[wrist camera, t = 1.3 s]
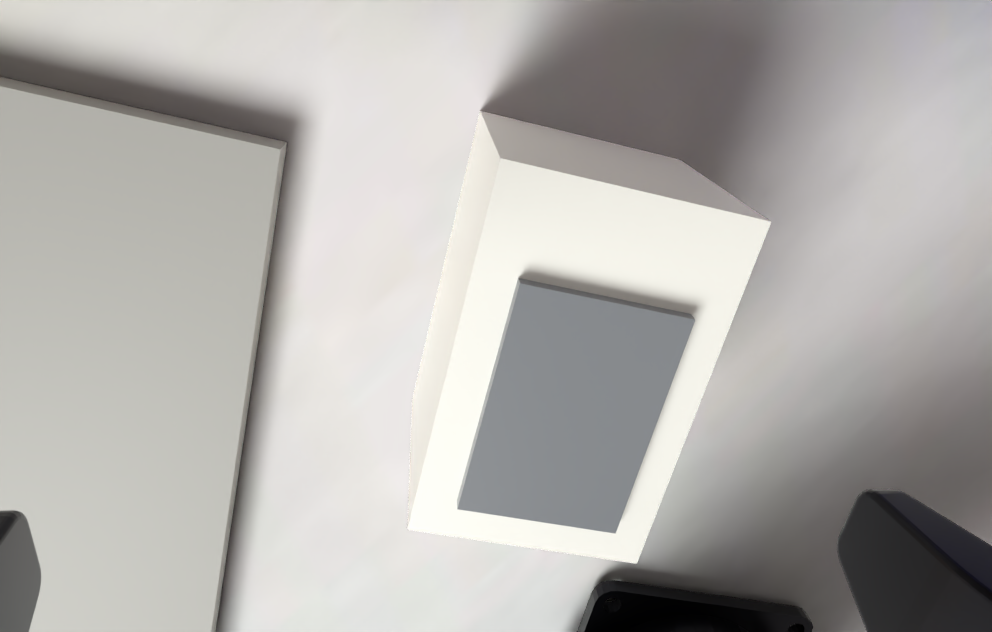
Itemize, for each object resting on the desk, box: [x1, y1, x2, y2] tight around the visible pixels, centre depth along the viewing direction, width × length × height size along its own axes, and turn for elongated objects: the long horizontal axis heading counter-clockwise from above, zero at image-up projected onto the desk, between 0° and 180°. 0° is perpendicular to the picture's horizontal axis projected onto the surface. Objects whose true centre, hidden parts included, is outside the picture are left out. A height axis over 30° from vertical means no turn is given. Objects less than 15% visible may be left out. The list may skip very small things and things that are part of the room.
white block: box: [407, 111, 771, 564], centre depth 15 cm, size 4×7×5 cm, turn 166°
